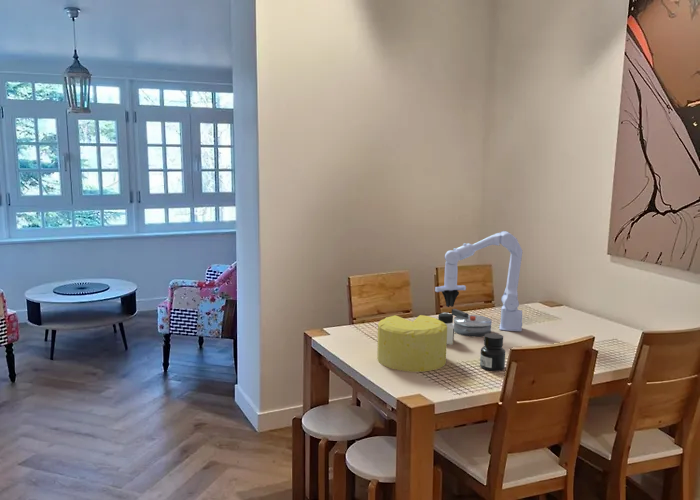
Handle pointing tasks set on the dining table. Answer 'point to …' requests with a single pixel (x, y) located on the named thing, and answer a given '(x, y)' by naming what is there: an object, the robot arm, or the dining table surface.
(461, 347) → the dining table surface
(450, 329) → the medicine bottle
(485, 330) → the cooker pot
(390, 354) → the cheese
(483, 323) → the cooker lid
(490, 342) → the ink bottle
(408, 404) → the dining table surface
